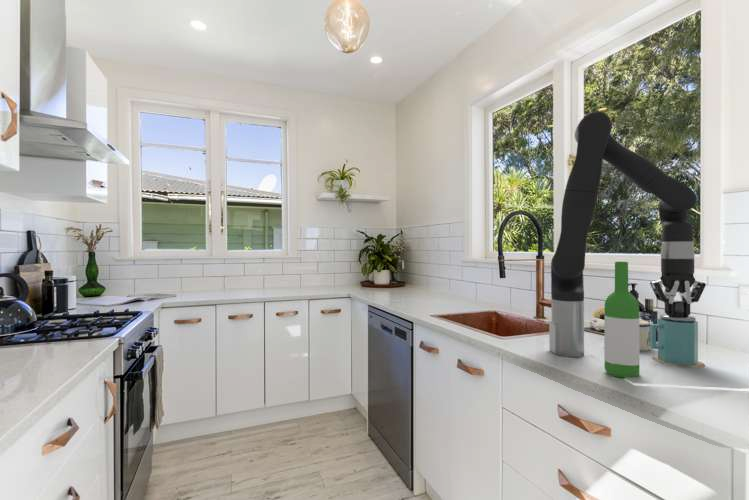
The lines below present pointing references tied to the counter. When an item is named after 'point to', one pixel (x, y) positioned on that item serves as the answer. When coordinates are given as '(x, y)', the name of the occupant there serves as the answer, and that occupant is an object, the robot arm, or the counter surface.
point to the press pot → (675, 341)
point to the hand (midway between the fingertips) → (677, 316)
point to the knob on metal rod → (678, 313)
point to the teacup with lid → (643, 334)
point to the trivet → (679, 365)
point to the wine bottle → (621, 328)
